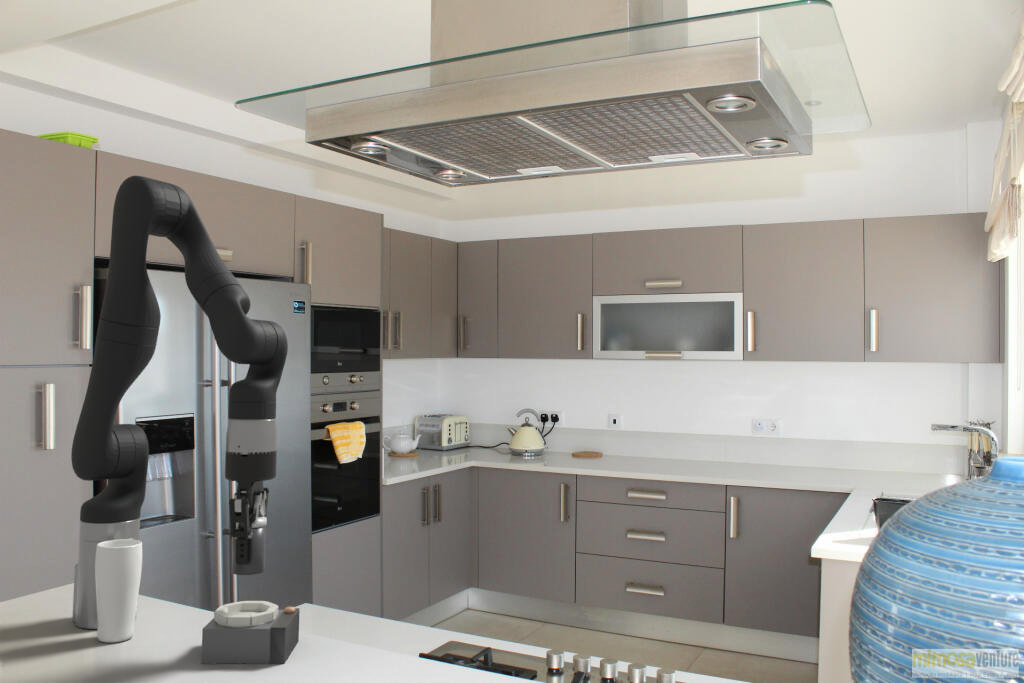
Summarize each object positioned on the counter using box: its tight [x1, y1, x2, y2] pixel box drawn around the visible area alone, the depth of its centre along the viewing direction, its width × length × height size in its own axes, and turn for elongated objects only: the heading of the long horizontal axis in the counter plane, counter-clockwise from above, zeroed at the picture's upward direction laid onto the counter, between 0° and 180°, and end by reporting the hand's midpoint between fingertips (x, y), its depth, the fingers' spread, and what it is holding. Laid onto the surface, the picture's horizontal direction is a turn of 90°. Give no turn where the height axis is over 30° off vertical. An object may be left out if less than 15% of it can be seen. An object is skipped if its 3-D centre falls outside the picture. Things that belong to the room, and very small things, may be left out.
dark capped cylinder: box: [231, 517, 268, 576], centre depth 124 cm, size 5×5×8 cm
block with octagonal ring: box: [200, 600, 301, 665], centre depth 124 cm, size 12×10×6 cm
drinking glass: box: [95, 539, 143, 644], centre depth 129 cm, size 7×7×15 cm
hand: (248, 559), depth 124 cm, fingers closed on dark capped cylinder, 4 cm apart
